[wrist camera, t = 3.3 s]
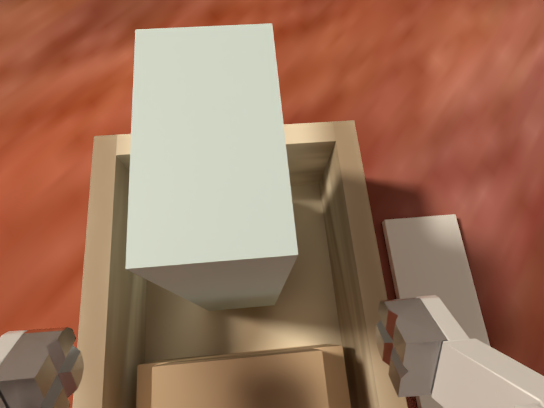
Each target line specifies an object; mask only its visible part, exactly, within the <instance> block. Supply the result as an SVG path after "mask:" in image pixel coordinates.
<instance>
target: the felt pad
mask: <svg viewBox="0 0 544 408" xmlns="http://www.w3.org/2000/svg"><path fill="white" fill-rule="evenodd" d="M382 226H383V231H384V236H385V242H386V247H387V252H388V257H389V262H390V267H391V272H392V278H393V283H394V288H395V293H396V298H397V299H402V298H412V297H419V296H429V295H436V296H438V297H439V298H440V299H441V301H442V302H443V303H444V305H445V306H446V307H447V309H448V310H449V311H450V313H451V314H452V315H453V317H454V318H455V319H456V321H457V322H458V324H459V325H460V326H461V328H462V329H463V330H464V332H465V333H466V334H467V336H468V337H469V338H470V339H475V338H476V339H478V340H479V341H481V342H483V343H485V344H487V345H488V346H490V343H489V339H488V336H487V332H486V328H485V324H484V321H483V317H482V313H481V309H480V305H479V302H478V298H477V294H476V290H475V287H474V283H473V279H472V275H471V271H470V268H469V264H468V260H467V256H466V253H465V249H464V245H463V241H462V237H461V234H460V230H459V226H458V222H457V219H456V215H455V214H453V215H440V216H427V217H414V218H401V219H388V220H384V221H383V222H382ZM431 396H432V395H426V396H416V401H417V406H418V408H443V407H442V406H441V405H440V404H439V403H438V402H437V401H436V400H434V399H433V398H432V397H431Z"/></svg>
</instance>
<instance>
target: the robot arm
mask: <svg viewBox="0 0 544 408" xmlns="http://www.w3.org/2000/svg"><path fill="white" fill-rule="evenodd" d="M378 314H379V316H380V318H381V320H380V321H379V322H378V324H377V325H376V342H377V347H378V351H379V354H380V356H381V359H382V361H383V362H385V363H386V364H388V365H389V374H388V375H389V377H390V380H391V382H392V384H393V387H394V389H395V391H396V394H397V396H398V397H411V396H426V395H432V396H431V397H432V398H433V399H434V400H436V401H437V402H438V403H439V404H440V405H441V406H442V407H443V408H544V376H542V375H541V374H539V373H537V372H535V371H533V370H532V369H530V368H528V367H526V366H524V365H523V364H521V363H519V362H517V361H515V360H514V359H512V358H510V357H508V356H506V355H505V354H503V353H501V352H499V351H497V350H496V349H494V348H492V347H490V346H488V345H487V344H485V343H483V342H481V341H479V340H478V339H476V338H475V339H470V338H469V337H468V336H467V334H466V333H465V332H464V330H463V329H462V328H461V326H460V325H459V324H458V322H457V321H456V319H455V318H454V317H453V315H452V314H451V313H450V311H449V310H448V309H447V307H446V306H445V305H444V303H443V302H442V301H441V299H440V298H439V297H438V296H436V295H429V296H419V297H412V298H402V299H391V300H380V302H379V305H378ZM75 339H76V337H75V335H74V332H73V330H72V329H71V328H68V327H65V328H49V329H33V330H24V331H9V332H7V333H5V334H3V335H2V336H1V337H0V408H69V407H70V403H69V400H68V397H69V396H70V395H72V394H73V393H74V392H75V391H76V390H77V389H78V387H79V385H80V382H81V380H82V376H83V370H84V363H83V357H82V354H81V351H80V350H78V349H77V348H75V347H74V346H73V343H74V341H75Z"/></svg>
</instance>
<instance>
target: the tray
mask: <svg viewBox="0 0 544 408" xmlns="http://www.w3.org/2000/svg"><path fill="white" fill-rule="evenodd" d="M284 133H285V142H286V151H287V160H288V169H289V177H290V186H291V195H292V204H293V213H294V222H295V230H296V239H297V248H298V256H297V259H296V261H295V263H294V265H293V267H292V269H291V271H290V273H289V276H288V278H287V280H286V282H285V284H284V286H283V288H282V290H281V293H280V295H279V297H278V299H277V301H276V303H275V305H271V306H260V307H249V308H238V309H226V310H215V311H208V310H206V309H204V308H202V307H200V306H198V305H196V304H194V303H192V302H190V301H188V300H186V299H184V298H182V297H180V296H178V295H176V294H174V293H172V292H170V291H168V290H166V289H164V288H162V287H160V286H158V285H156V284H154V283H152V282H150V281H148V280H146V279H144V278H142V277H140V276H138V275H136V274H134V273H132V272H131V271H129V270H127V269H125V267H126V243H127V219H128V196H129V172H130V148H131V134H122V135H106V136H94V143H93V156H92V168H91V181H90V194H89V206H88V219H87V231H86V244H85V257H84V269H83V282H82V294H81V307H80V319H79V332H78V345H77V349H78V350H80V351H81V354H82V357H83V363H84V370H83V376H82V380H81V382H80V385H79V387H78V389H77V390H76V391H75V392H74V395H73V408H136V396H137V365H140V364H144V363H149V362H153V361H157V360H165V359H176V358H186V357H197V356H207V355H217V354H228V353H238V352H249V351H259V350H269V349H280V348H290V347H301V346H311V345H321V344H335V345H342V347H343V354H344V361H345V368H346V375H347V382H348V389H349V396H350V403H351V408H408V407H407V401H406V397H398V396H397V394H396V391H395V389H394V387H393V384H392V382H391V380H390V377H389V375H388V374H389V365H388V364H386V363H385V362H383V361H382V359H381V356H380V354H379V351H378V347H377V342H376V325H377V324H378V322H379V321H380V320H381V318H380V316H379V314H378V305H379V302H380V300H388V299H387V294H386V289H385V283H384V278H383V272H382V267H381V262H380V256H379V251H378V246H377V240H376V235H375V230H374V224H373V219H372V213H371V208H370V203H369V197H368V192H367V187H366V181H365V176H364V171H363V165H362V160H361V154H360V149H359V144H358V138H357V133H356V128H355V122H354V120H352V121H336V122H319V123H303V124H286V125H284Z"/></svg>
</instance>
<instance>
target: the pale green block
mask: <svg viewBox="0 0 544 408" xmlns="http://www.w3.org/2000/svg"><path fill="white" fill-rule="evenodd" d="M297 256H298V248H297V239H296V230H295V222H294V213H293V204H292V195H291V186H290V177H289V169H288V160H287V151H286V142H285V133H284V125H283V116H282V107H281V98H280V89H279V80H278V72H277V63H276V54H275V45H274V36H273V27H272V24H249V25H227V26H205V27H182V28H160V29H138V30H135V53H134V77H133V101H132V124H131V148H130V172H129V196H128V219H127V243H126V267H125V269H127V270H129V271H131V272H132V273H134V274H136V275H138V276H140V277H142V278H144V279H146V280H148V281H150V282H152V283H154V284H156V285H158V286H160V287H162V288H164V289H166V290H168V291H170V292H172V293H174V294H176V295H178V296H180V297H182V298H184V299H186V300H188V301H190V302H192V303H194V304H196V305H198V306H200V307H202V308H204V309H206V310H208V311H215V310H226V309H238V308H249V307H260V306H271V305H275V303H276V301H277V299H278V297H279V295H280V293H281V290H282V288H283V286H284V284H285V282H286V280H287V278H288V276H289V273H290V271H291V269H292V267H293V265H294V263H295V261H296V259H297Z"/></svg>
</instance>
